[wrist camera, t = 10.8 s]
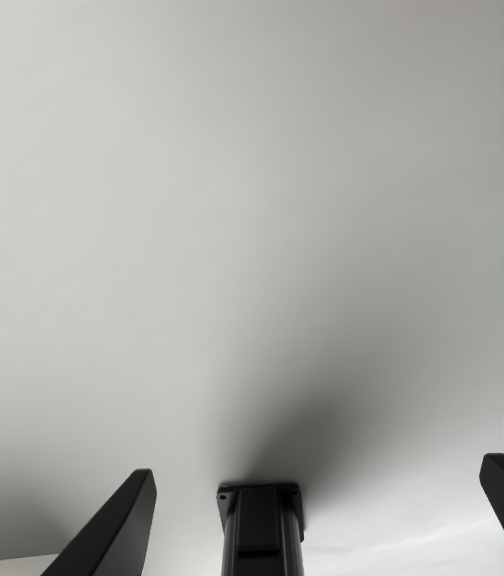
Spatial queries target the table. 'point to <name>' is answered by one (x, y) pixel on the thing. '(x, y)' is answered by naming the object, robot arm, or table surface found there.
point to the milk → (26, 565)
